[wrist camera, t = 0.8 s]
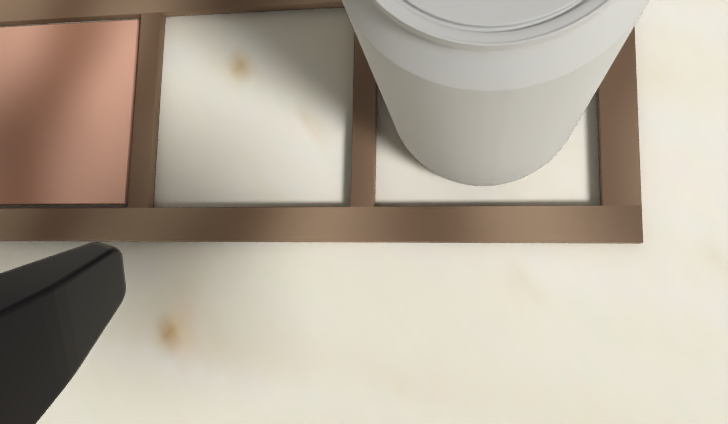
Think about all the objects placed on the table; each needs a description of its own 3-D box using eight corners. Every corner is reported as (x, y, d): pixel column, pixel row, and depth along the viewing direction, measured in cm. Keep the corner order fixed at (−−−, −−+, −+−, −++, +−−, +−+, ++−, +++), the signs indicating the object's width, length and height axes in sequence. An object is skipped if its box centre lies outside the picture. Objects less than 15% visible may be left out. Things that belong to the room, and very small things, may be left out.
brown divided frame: (628, -43, 23) (631, -49, 22) (639, 243, 21) (643, 242, 21) (-48, 1, 27) (-56, -3, 27) (-75, 240, 26) (-84, 239, 25)
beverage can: (385, 30, 24) (299, -236, 12) (564, 1, 23) (661, -319, 11) (402, 200, 23) (327, 90, 11) (591, 178, 22) (727, 31, 10)
